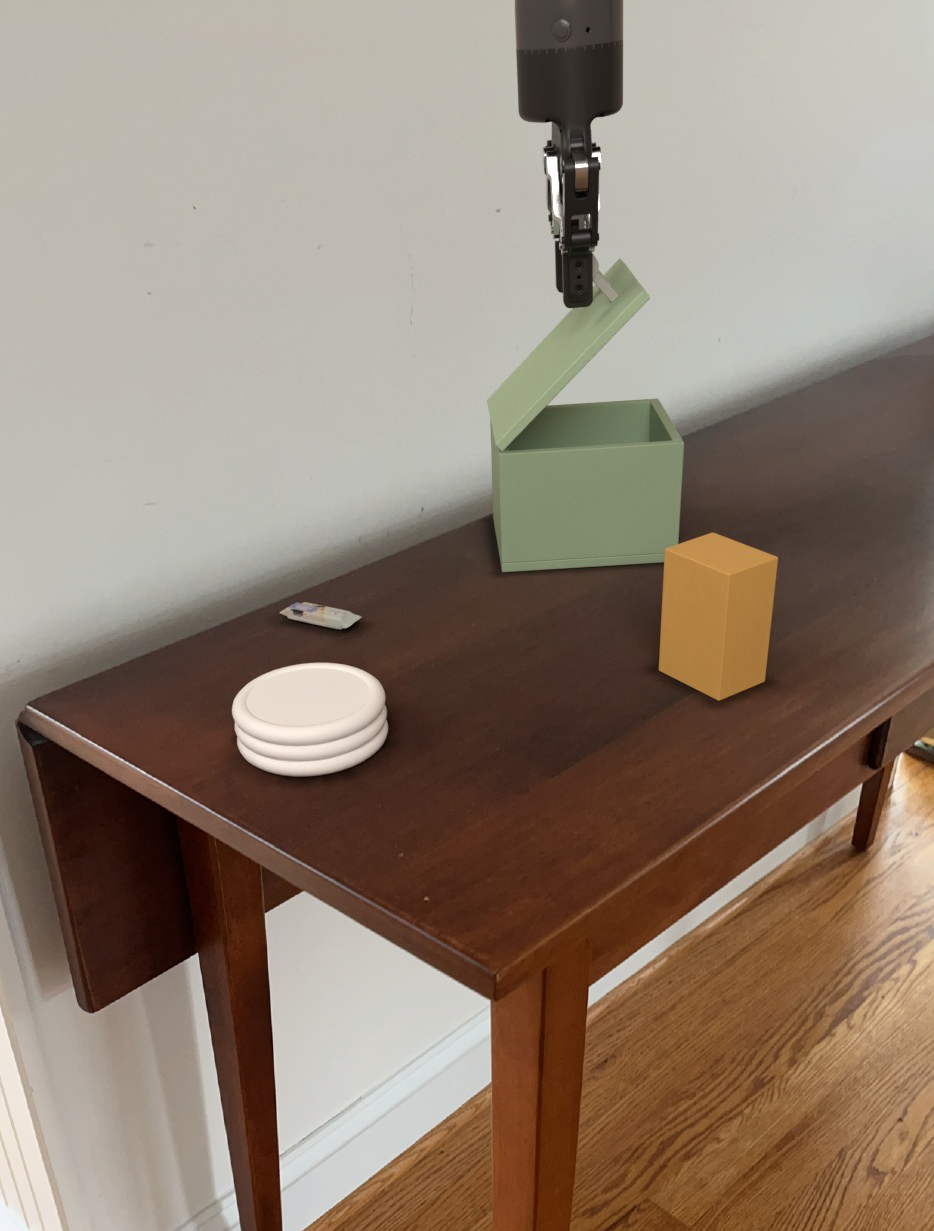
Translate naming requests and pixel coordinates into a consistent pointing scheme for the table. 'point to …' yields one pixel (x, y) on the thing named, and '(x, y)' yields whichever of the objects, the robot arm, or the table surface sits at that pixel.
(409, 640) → the table surface
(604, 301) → the lid
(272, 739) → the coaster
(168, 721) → the table surface
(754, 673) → the carton
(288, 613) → the granola bar
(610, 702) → the table surface
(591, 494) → the chest
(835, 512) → the table surface
